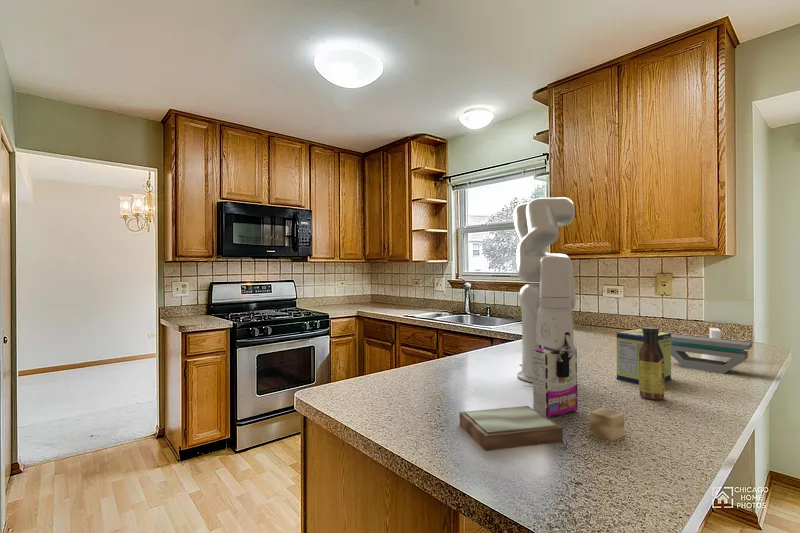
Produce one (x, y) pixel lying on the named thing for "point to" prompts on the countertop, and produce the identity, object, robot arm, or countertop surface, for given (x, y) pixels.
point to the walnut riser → (510, 427)
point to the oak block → (607, 423)
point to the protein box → (629, 354)
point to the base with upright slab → (716, 334)
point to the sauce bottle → (651, 366)
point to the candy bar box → (553, 384)
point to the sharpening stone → (708, 352)
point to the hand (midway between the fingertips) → (554, 373)
